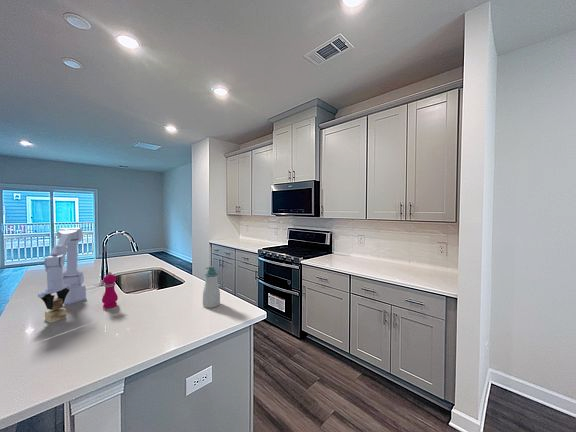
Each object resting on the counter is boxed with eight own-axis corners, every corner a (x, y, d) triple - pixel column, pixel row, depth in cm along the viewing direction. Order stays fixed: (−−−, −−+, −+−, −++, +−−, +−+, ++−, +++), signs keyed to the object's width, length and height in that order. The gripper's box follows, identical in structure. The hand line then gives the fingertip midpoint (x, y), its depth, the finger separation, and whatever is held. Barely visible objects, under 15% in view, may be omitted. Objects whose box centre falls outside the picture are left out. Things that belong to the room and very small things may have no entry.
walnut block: (58, 306, 125) (58, 297, 125) (62, 307, 124) (62, 298, 124) (48, 309, 122) (48, 300, 122) (52, 310, 120) (52, 301, 120)
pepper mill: (109, 310, 134) (109, 274, 134) (98, 308, 136) (98, 273, 135) (120, 305, 141) (120, 270, 141) (110, 303, 143) (110, 269, 142)
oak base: (60, 314, 127) (60, 306, 127) (66, 316, 124) (66, 309, 124) (45, 319, 122) (44, 311, 121) (50, 321, 119) (50, 313, 119)
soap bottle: (198, 306, 142) (199, 267, 141) (211, 300, 150) (211, 263, 149) (211, 309, 137) (211, 269, 136) (223, 303, 146) (223, 266, 145)
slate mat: (68, 308, 135) (68, 307, 135) (80, 313, 130) (80, 312, 130) (37, 317, 124) (37, 316, 124) (50, 323, 118) (50, 322, 118)
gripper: (61, 275, 130) (62, 300, 130) (31, 284, 115) (32, 312, 116) (74, 275, 129) (74, 301, 130) (45, 284, 115) (46, 313, 115)
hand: (55, 306), depth 123 cm, fingers closed on walnut block, 5 cm apart
